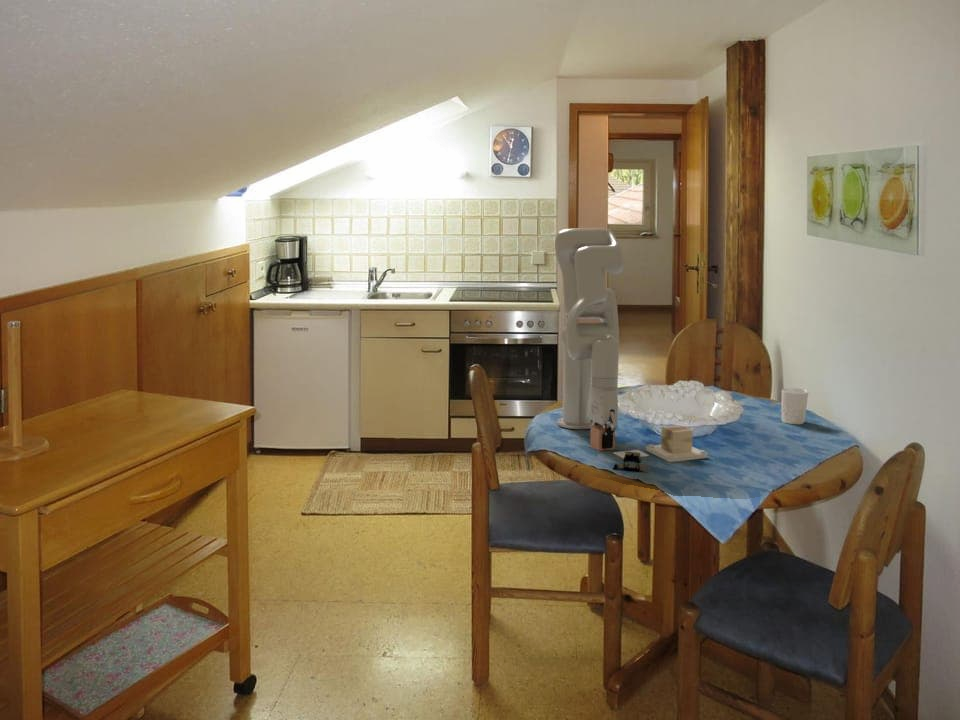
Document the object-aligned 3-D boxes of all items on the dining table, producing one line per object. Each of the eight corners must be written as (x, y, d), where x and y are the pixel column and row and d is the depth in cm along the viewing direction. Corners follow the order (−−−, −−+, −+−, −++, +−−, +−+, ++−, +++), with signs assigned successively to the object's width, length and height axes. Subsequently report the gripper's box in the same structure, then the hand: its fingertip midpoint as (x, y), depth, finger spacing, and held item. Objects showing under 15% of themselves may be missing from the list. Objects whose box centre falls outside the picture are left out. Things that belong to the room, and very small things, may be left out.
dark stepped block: (606, 472, 248) (606, 455, 247) (610, 464, 255) (611, 447, 254) (654, 476, 244) (654, 459, 243) (657, 468, 251) (658, 451, 250)
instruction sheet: (612, 453, 263) (612, 452, 263) (638, 450, 266) (638, 449, 266) (623, 458, 258) (623, 458, 257) (649, 455, 260) (649, 455, 260)
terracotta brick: (590, 446, 270) (590, 425, 269) (605, 444, 272) (606, 424, 271) (598, 450, 265) (599, 429, 264) (614, 449, 267) (615, 428, 266)
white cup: (774, 419, 301) (776, 388, 299) (795, 418, 303) (798, 387, 301) (789, 425, 293) (791, 394, 291) (811, 424, 295) (813, 392, 294)
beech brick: (661, 448, 264) (661, 427, 263) (679, 445, 266) (680, 425, 265) (672, 453, 258) (673, 432, 257) (691, 451, 260) (692, 430, 259)
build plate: (646, 450, 266) (646, 444, 265) (682, 446, 270) (683, 440, 270) (669, 462, 255) (669, 456, 254) (707, 457, 259) (707, 451, 259)
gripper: (578, 377, 271) (576, 439, 275) (607, 389, 256) (605, 454, 259) (601, 375, 274) (599, 436, 278) (631, 387, 259) (629, 452, 262)
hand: (602, 444), depth 268 cm, fingers closed on terracotta brick, 5 cm apart
